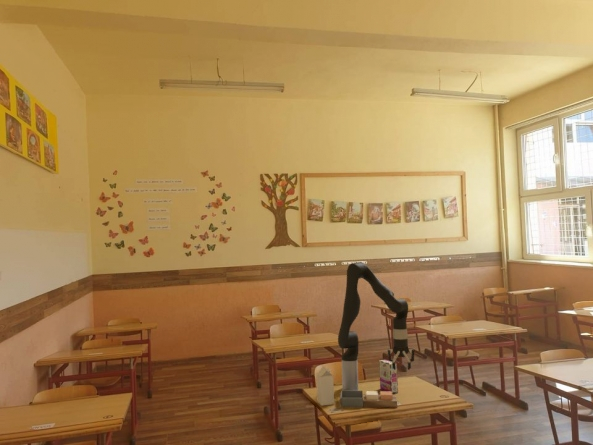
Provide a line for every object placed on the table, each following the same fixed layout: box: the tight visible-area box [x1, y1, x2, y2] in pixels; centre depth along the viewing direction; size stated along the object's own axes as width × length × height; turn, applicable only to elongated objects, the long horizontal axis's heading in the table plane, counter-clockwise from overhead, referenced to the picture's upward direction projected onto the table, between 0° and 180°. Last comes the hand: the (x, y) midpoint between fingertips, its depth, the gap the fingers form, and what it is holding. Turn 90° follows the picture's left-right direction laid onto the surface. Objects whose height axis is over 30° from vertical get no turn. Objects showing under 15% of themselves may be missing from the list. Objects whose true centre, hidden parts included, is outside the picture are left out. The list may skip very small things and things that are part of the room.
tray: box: [339, 389, 364, 409], centre depth 244 cm, size 13×12×5 cm
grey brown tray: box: [363, 393, 398, 408], centre depth 242 cm, size 11×17×3 cm, turn 83°
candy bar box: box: [378, 359, 399, 394], centre depth 264 cm, size 11×5×16 cm, turn 25°
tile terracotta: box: [379, 390, 394, 400], centre depth 241 cm, size 6×6×2 cm
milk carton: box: [316, 365, 335, 407], centre depth 245 cm, size 7×7×19 cm
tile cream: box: [365, 390, 379, 400], centre depth 242 cm, size 6×6×2 cm
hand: (401, 369), depth 241 cm, fingers open, 6 cm apart
